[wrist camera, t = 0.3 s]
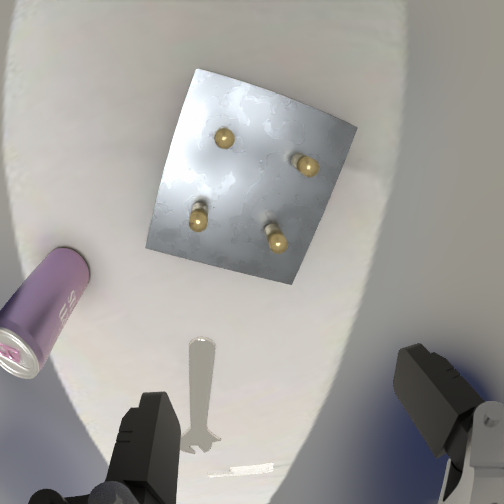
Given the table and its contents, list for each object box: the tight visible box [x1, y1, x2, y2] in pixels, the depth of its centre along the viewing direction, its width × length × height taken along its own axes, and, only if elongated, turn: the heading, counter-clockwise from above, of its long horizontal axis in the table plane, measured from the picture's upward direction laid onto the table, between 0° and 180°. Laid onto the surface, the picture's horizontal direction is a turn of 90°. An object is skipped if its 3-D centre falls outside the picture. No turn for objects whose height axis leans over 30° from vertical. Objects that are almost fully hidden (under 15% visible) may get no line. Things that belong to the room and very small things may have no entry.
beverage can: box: [0, 248, 89, 379], centre depth 25 cm, size 6×6×15 cm
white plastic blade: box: [207, 463, 273, 477], centre depth 56 cm, size 5×15×1 cm, turn 93°
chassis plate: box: [146, 68, 357, 285], centre depth 28 cm, size 18×16×5 cm
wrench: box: [180, 337, 221, 454], centre depth 44 cm, size 8×32×1 cm, turn 172°
